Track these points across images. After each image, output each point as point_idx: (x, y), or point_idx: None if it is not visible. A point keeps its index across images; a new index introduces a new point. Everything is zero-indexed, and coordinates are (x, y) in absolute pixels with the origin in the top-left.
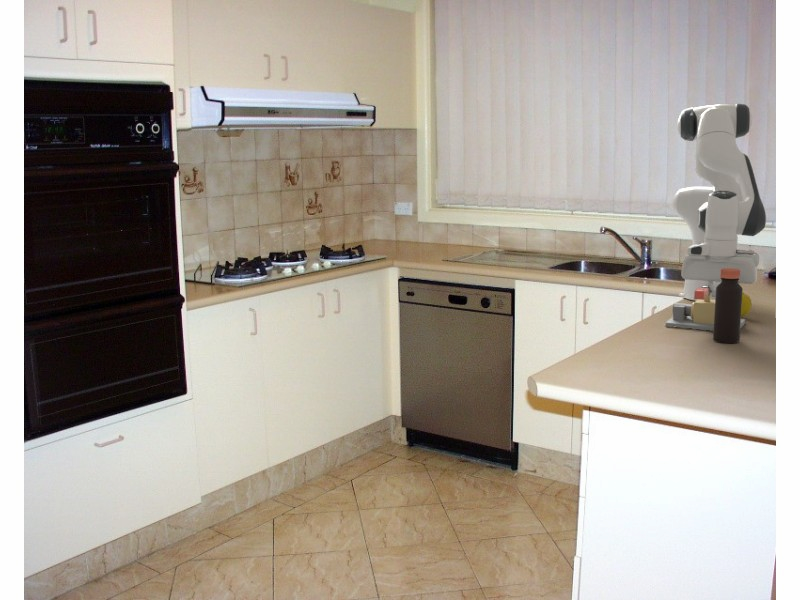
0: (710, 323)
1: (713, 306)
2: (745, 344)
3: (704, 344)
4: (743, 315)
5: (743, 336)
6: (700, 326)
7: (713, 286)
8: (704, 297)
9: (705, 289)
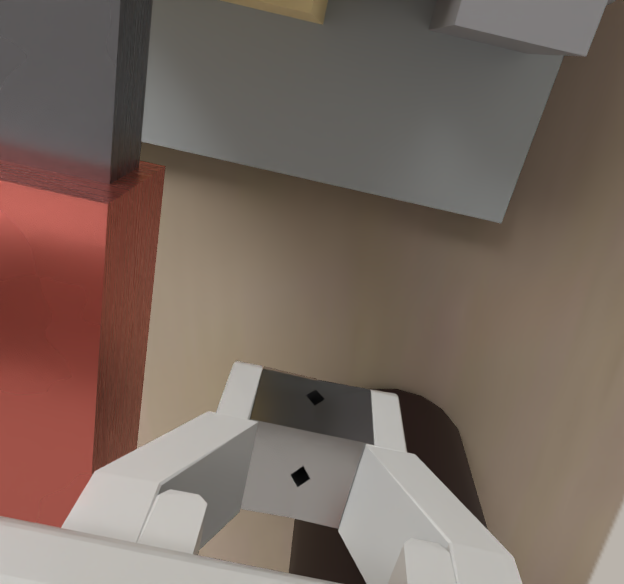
0: (288, 17)
1: (290, 9)
2: (487, 502)
3: (254, 539)
4: None
5: (526, 298)
6: (203, 155)
7: (204, 466)
8: (131, 431)
9: (76, 378)
